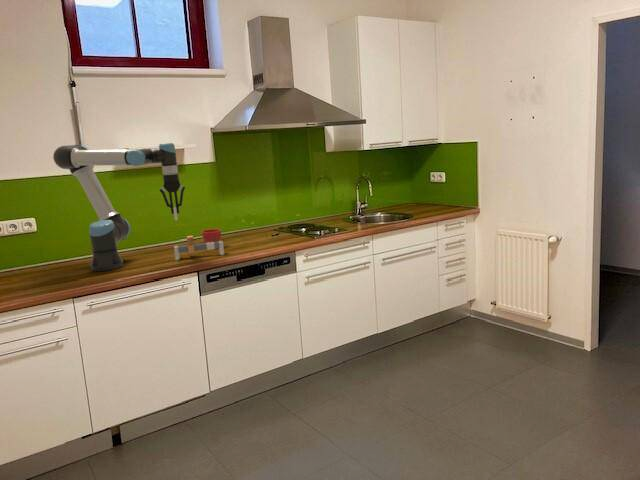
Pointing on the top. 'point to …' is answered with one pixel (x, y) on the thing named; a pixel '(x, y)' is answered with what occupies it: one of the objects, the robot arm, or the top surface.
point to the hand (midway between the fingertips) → (176, 219)
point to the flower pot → (211, 235)
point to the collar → (190, 245)
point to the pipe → (199, 248)
